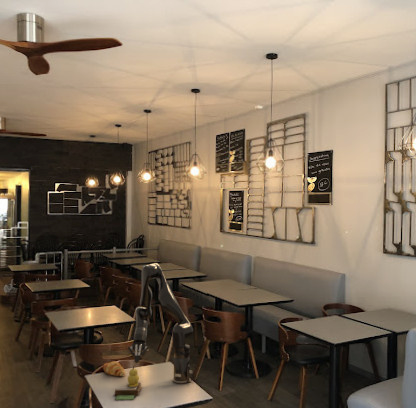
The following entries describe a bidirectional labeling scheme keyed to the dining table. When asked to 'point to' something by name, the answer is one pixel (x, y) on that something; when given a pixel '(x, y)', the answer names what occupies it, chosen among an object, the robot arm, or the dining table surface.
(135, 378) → the pear
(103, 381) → the dining table surface
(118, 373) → the croissant
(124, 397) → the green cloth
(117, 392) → the corner fence
